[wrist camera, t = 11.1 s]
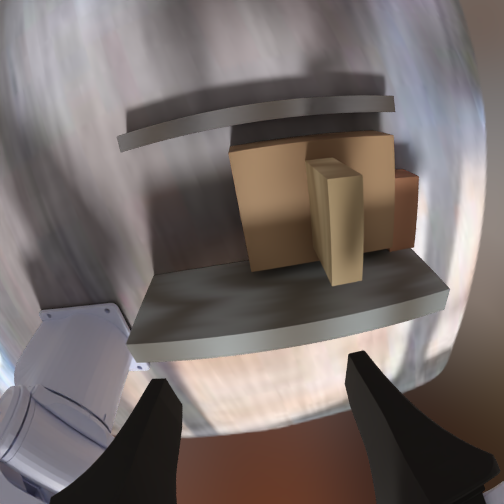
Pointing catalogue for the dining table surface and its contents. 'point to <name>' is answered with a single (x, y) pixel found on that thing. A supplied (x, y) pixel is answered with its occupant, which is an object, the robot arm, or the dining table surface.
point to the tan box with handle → (316, 200)
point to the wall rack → (281, 270)
